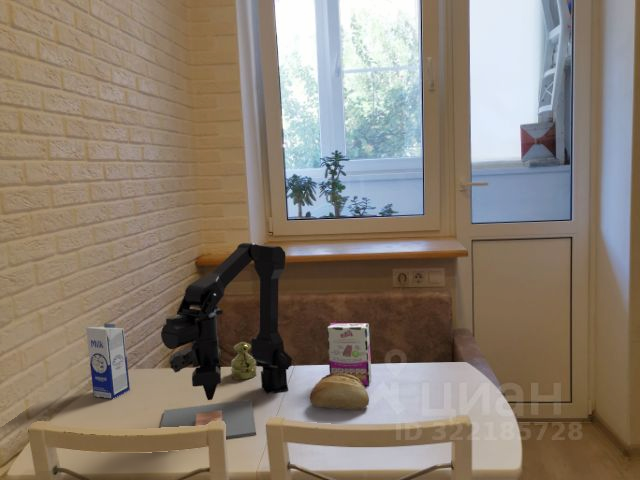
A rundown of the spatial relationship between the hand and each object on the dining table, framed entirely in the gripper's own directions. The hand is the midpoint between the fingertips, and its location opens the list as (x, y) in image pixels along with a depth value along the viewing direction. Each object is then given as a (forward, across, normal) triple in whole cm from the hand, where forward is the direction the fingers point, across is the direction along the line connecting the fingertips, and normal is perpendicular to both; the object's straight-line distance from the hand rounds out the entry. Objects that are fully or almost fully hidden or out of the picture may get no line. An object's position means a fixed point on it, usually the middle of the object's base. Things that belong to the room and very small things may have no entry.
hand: (210, 399), depth 126 cm
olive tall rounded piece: (+6, -29, +9) cm, 31 cm away
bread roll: (+6, 0, +32) cm, 32 cm away
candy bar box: (+6, -15, +38) cm, 41 cm away
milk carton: (+6, -26, -28) cm, 39 cm away
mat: (+6, -1, -1) cm, 6 cm away
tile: (+5, -2, 0) cm, 5 cm away
